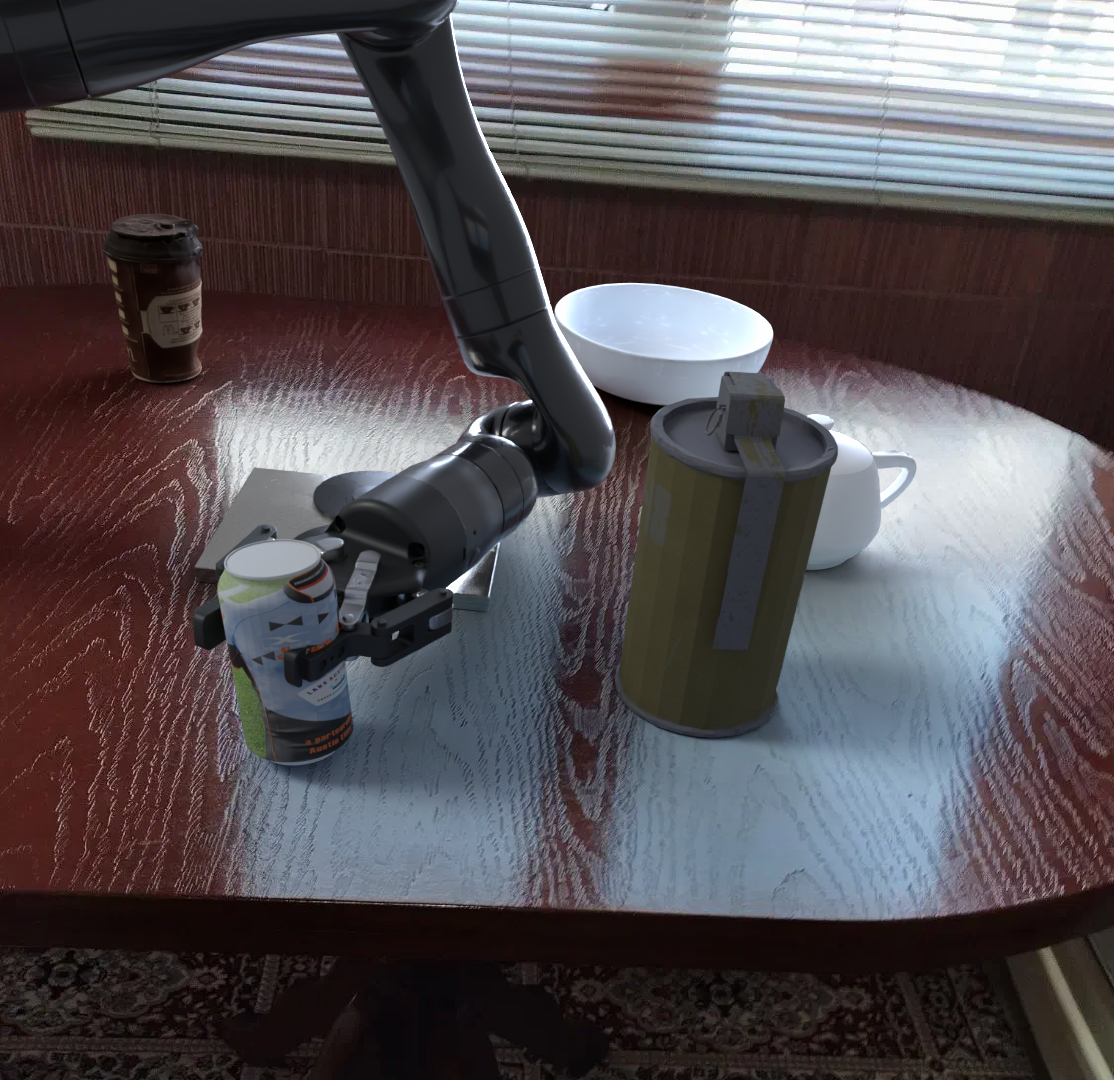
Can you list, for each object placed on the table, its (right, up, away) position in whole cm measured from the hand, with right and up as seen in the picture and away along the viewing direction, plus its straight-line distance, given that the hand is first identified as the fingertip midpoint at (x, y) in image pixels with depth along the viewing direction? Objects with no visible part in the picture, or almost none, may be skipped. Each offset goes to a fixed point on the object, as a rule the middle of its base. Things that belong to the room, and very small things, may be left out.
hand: (244, 652), depth 63 cm
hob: (+2, +10, +25) cm, 27 cm away
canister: (+25, -2, +14) cm, 29 cm away
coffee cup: (-19, +29, +47) cm, 59 cm away
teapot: (+34, +11, +31) cm, 48 cm away
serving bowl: (+26, +30, +55) cm, 68 cm away
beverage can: (+1, -5, +6) cm, 8 cm away
